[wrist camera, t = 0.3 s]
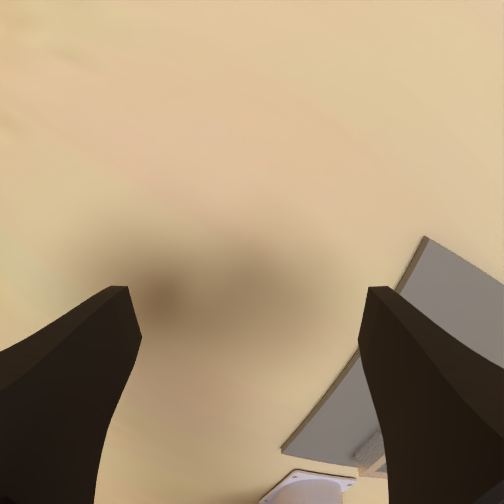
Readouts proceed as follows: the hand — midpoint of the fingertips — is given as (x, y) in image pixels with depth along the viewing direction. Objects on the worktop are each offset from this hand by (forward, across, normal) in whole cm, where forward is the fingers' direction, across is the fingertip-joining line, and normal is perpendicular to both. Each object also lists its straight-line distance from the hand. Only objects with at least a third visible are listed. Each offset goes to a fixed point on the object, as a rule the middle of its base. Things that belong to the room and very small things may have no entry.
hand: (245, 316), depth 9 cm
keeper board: (+8, -16, +16) cm, 24 cm away
